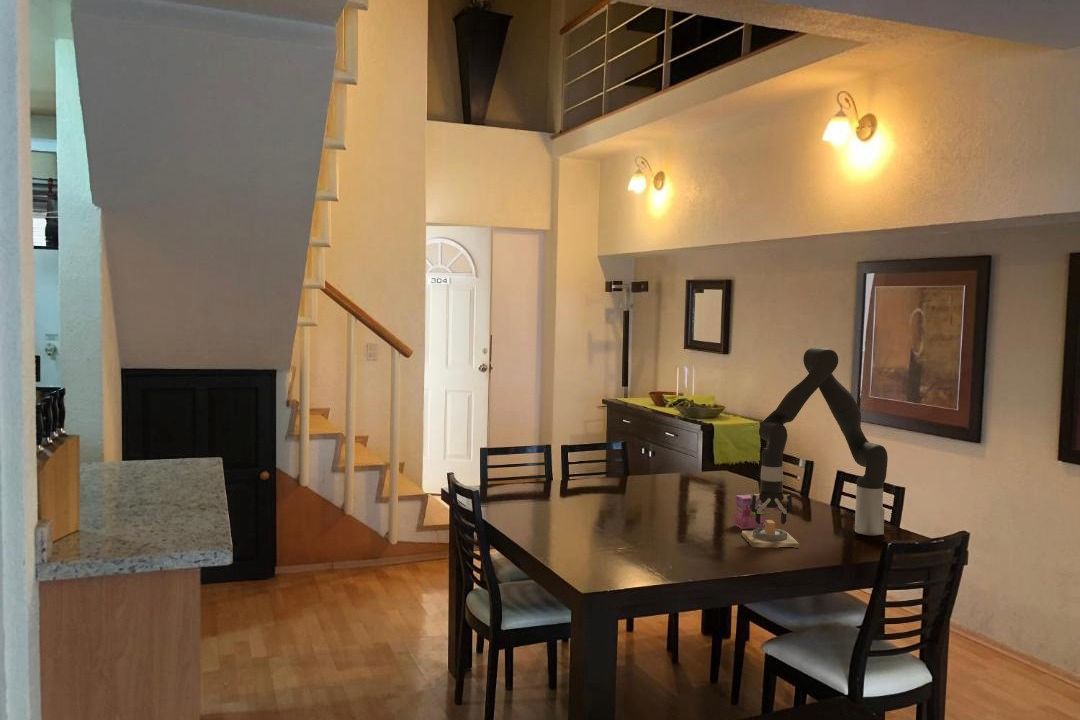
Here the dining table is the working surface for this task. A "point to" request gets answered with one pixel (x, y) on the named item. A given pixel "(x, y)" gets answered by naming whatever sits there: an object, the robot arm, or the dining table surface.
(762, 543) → the board
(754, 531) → the grey octagonal ring
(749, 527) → the box
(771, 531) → the white disc orange handle
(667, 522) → the dining table surface
